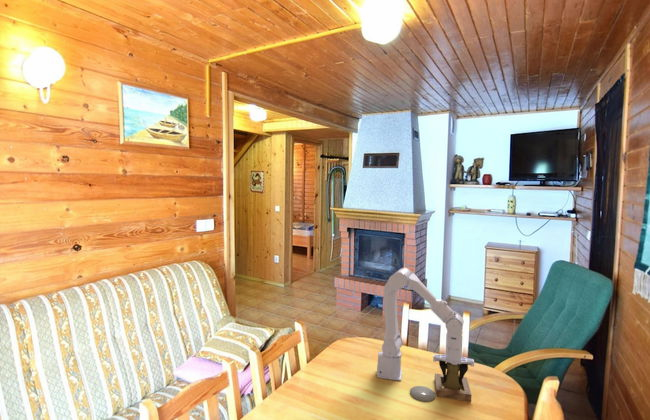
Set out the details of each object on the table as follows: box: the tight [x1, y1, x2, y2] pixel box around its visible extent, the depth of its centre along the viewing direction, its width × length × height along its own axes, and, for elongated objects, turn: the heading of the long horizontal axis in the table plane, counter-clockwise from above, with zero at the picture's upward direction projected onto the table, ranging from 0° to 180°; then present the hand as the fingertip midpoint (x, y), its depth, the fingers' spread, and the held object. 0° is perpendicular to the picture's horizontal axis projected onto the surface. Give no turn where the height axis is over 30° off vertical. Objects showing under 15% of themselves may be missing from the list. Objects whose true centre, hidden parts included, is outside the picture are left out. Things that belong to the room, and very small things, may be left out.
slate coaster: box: [409, 385, 436, 403], centre depth 135 cm, size 9×9×1 cm
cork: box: [443, 362, 461, 390], centre depth 137 cm, size 6×6×11 cm
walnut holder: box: [434, 373, 472, 402], centre depth 138 cm, size 12×12×2 cm
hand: (452, 381), depth 138 cm, fingers closed on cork, 5 cm apart
